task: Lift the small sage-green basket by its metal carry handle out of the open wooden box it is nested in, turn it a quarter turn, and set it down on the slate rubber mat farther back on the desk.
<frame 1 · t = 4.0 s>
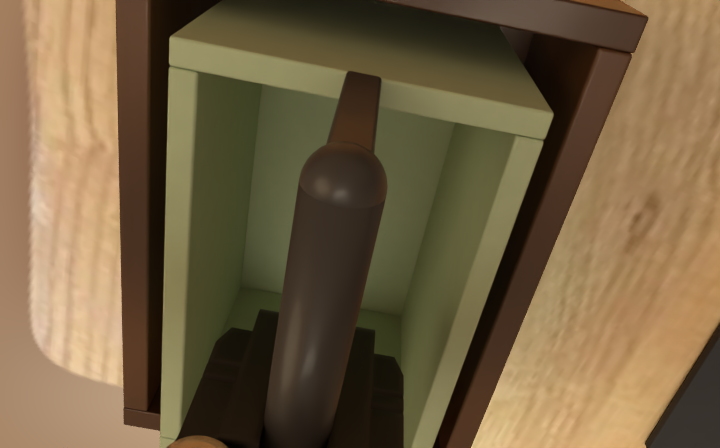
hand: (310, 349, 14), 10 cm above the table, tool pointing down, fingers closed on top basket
open wooden box: (347, 166, 22), on the table, touching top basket
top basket: (345, 173, 22), point 1 cm above the table, touching open wooden box, gripper
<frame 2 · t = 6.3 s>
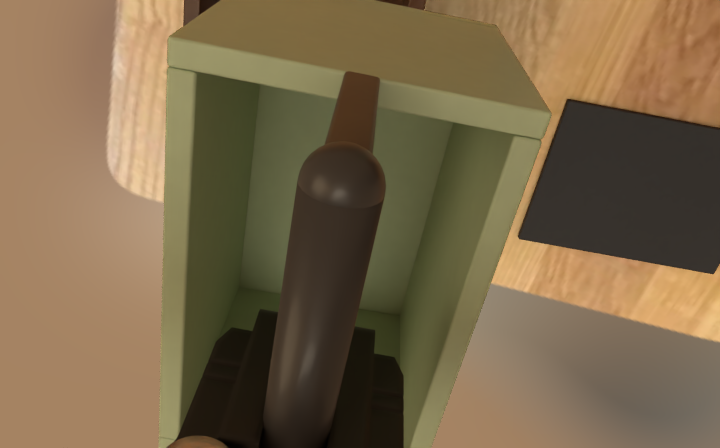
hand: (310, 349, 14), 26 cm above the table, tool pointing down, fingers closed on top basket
mat: (644, 191, 40), on the table
open wooden box: (311, 32, 36), on the table
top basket: (344, 173, 22), point 17 cm above the table, touching gripper
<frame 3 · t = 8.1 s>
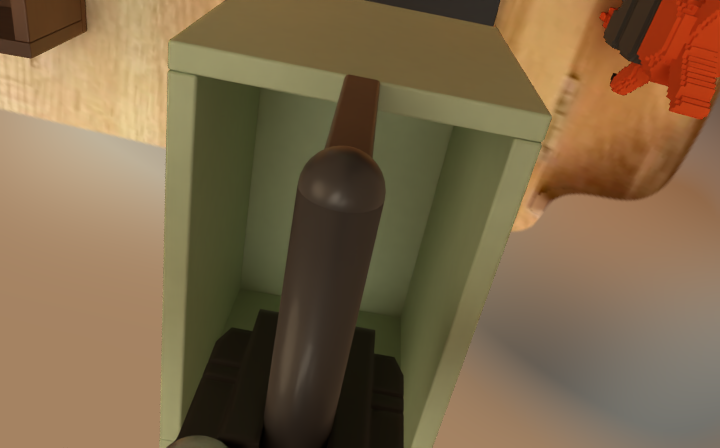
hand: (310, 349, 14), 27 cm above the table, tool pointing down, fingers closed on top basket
mat: (368, 50, 37), on the table
toy animal: (646, 5, 35), on the table
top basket: (344, 175, 22), point 18 cm above the table, touching gripper
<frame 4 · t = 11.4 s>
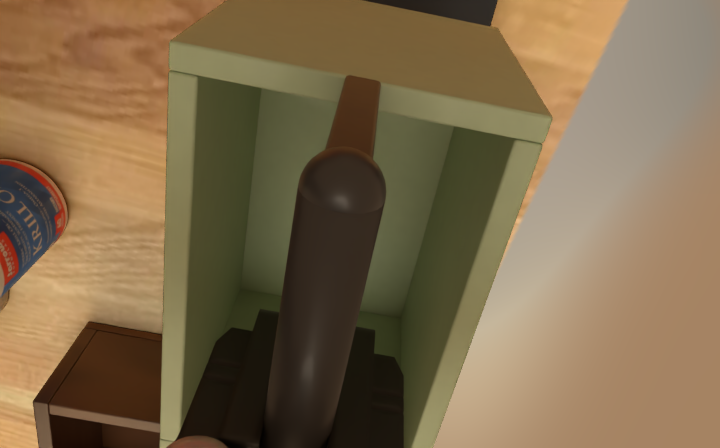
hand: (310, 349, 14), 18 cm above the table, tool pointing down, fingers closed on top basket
mat: (360, 95, 29), on the table
open wooden box: (209, 407, 40), on the table
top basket: (345, 176, 22), point 8 cm above the table, touching gripper
pill bottle: (23, 198, 33), on the table
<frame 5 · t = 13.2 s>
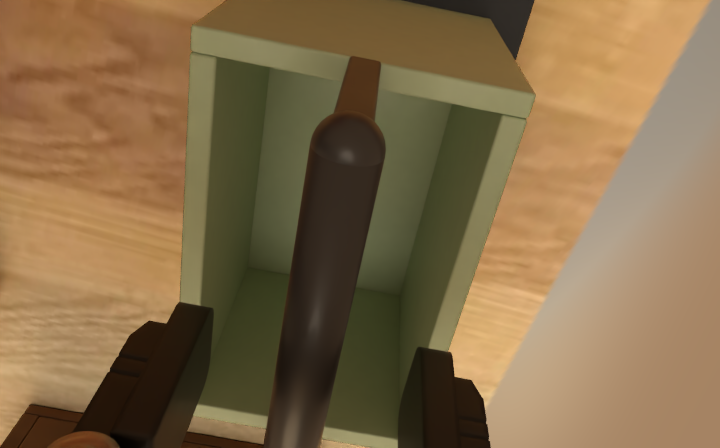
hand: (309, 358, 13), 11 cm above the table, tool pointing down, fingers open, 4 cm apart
mat: (349, 152, 23), on the table
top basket: (347, 159, 23), resting on mat
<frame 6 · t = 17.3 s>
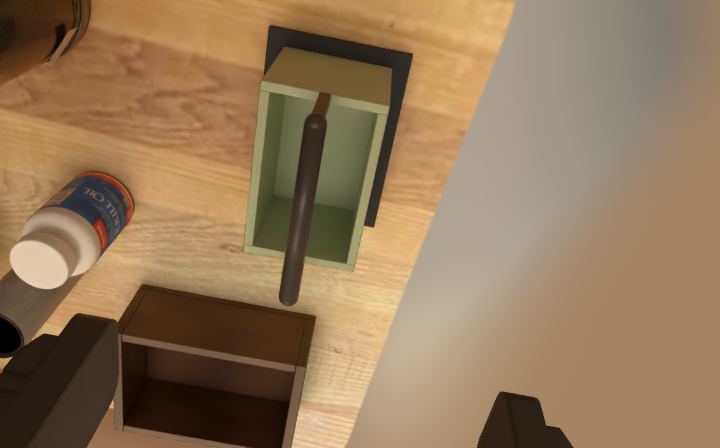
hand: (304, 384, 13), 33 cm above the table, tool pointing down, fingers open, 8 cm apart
mat: (326, 133, 45), on the table
open wooden box: (225, 348, 57), on the table
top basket: (325, 136, 45), resting on mat
pill bottle: (102, 198, 49), on the table
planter: (63, 255, 53), on the table
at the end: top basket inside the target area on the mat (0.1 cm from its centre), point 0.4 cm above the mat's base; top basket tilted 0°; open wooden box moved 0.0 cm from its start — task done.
